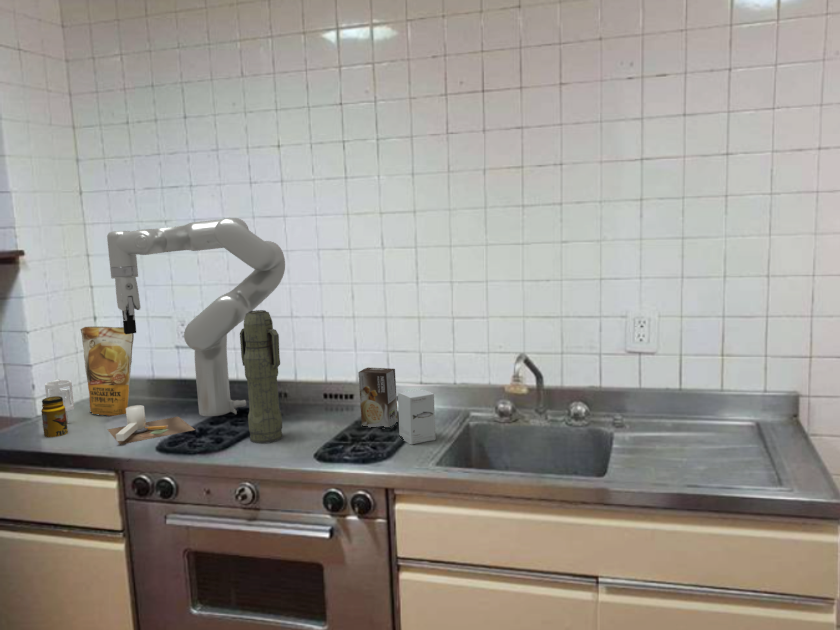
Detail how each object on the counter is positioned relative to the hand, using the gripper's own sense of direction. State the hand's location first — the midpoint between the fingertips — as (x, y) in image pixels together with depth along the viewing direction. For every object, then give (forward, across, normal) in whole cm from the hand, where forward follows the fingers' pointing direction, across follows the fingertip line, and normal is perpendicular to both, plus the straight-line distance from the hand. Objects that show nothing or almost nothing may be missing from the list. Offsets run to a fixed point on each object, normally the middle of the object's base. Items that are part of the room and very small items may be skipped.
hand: (130, 333), depth 214 cm
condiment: (+27, -4, +24) cm, 37 cm away
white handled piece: (+25, -23, +4) cm, 34 cm away
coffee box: (+27, -54, -54) cm, 81 cm away
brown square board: (+27, -18, 0) cm, 33 cm away
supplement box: (+27, -72, -55) cm, 95 cm away
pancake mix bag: (+27, +15, +5) cm, 32 cm away
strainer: (+27, +8, +20) cm, 35 cm away
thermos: (+27, -44, -24) cm, 57 cm away
